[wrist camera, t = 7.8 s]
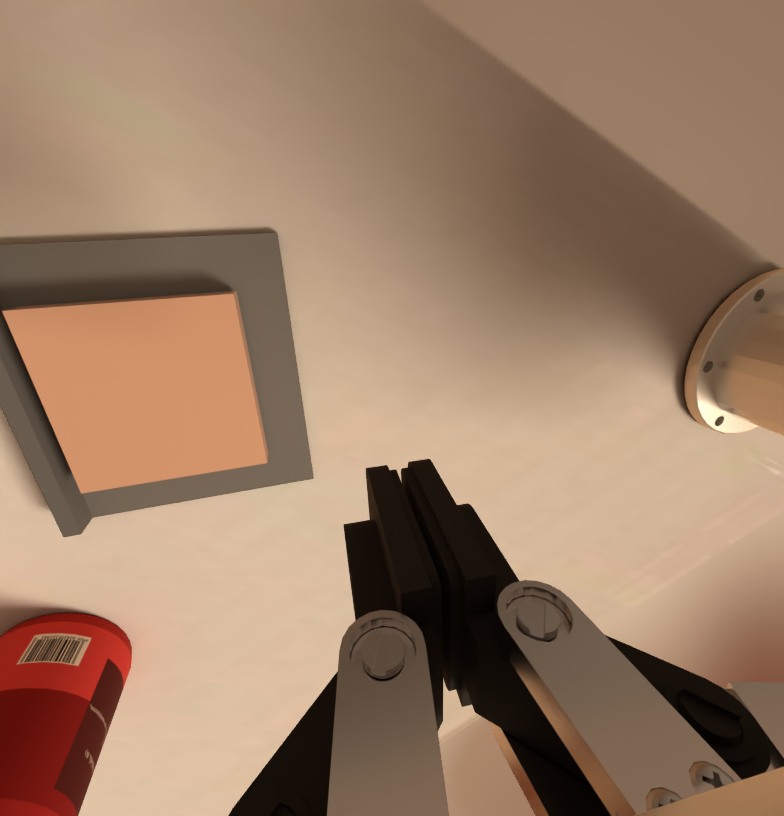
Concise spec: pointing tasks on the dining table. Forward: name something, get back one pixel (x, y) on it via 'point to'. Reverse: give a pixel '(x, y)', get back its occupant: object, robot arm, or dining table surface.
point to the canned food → (56, 709)
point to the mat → (151, 277)
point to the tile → (144, 386)
